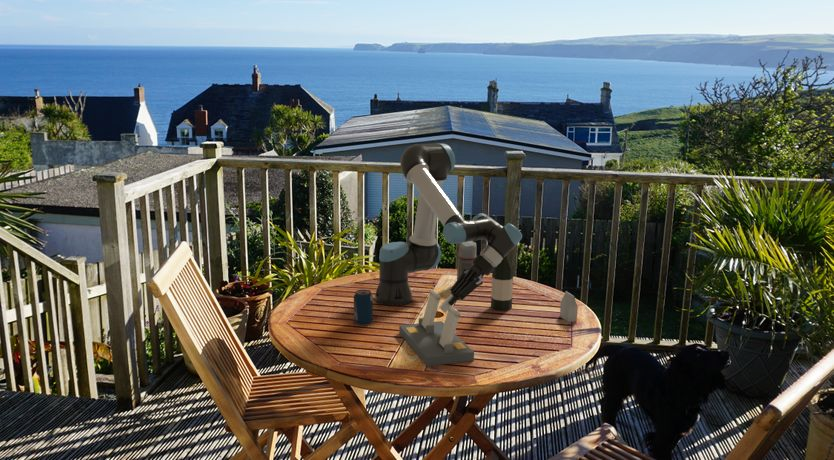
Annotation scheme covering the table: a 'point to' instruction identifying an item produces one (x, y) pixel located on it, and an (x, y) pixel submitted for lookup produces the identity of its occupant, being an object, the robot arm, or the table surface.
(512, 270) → the wine bottle
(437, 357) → the switch board
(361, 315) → the soda can
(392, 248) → the robot arm
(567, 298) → the tea bag
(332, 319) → the table surface
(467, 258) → the spray can
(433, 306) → the lever
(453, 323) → the lever
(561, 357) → the table surface
